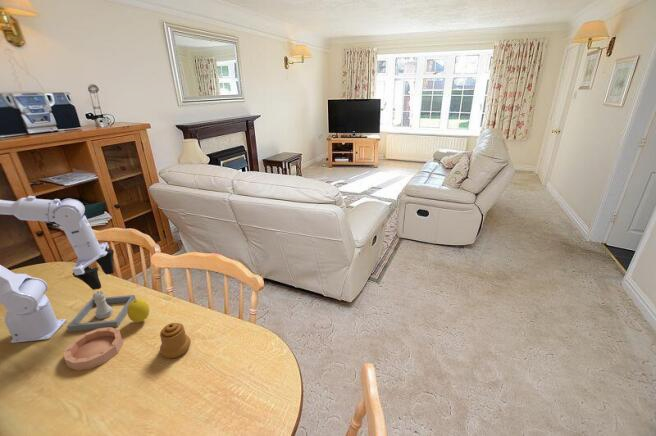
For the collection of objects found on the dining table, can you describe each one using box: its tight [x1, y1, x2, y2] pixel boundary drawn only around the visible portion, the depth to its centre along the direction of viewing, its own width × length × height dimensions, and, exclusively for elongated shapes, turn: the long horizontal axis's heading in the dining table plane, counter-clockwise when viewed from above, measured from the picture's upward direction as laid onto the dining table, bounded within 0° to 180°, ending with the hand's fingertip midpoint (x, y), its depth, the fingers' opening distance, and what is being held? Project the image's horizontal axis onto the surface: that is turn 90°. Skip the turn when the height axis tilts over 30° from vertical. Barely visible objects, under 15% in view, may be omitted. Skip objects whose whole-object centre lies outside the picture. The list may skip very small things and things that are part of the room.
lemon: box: [126, 298, 150, 323], centre depth 90 cm, size 6×6×8 cm
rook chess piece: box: [91, 290, 114, 320], centre depth 93 cm, size 4×4×8 cm
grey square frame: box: [66, 294, 137, 333], centre depth 94 cm, size 13×13×2 cm
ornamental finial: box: [159, 322, 192, 359], centre depth 81 cm, size 8×8×8 cm
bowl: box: [63, 327, 124, 371], centre depth 81 cm, size 12×12×3 cm
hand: (103, 280), depth 90 cm, fingers open, 7 cm apart
